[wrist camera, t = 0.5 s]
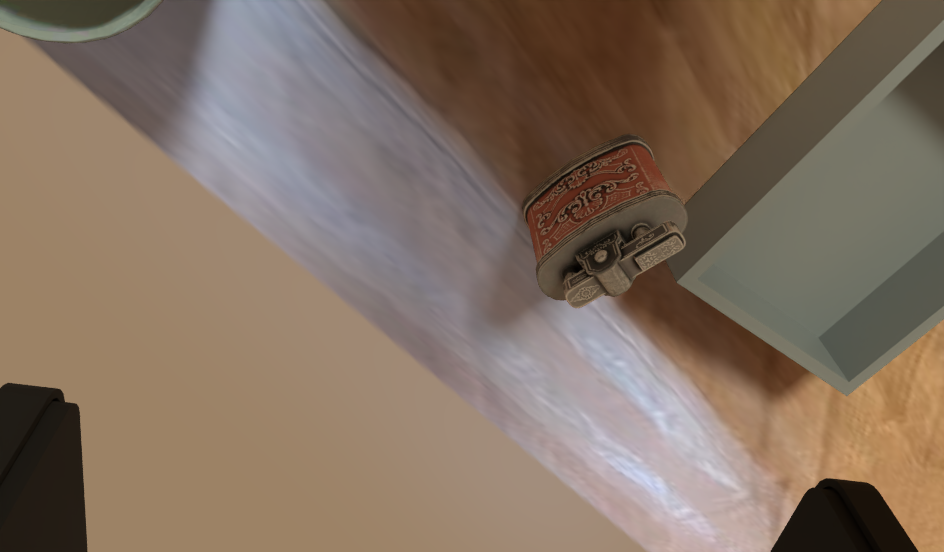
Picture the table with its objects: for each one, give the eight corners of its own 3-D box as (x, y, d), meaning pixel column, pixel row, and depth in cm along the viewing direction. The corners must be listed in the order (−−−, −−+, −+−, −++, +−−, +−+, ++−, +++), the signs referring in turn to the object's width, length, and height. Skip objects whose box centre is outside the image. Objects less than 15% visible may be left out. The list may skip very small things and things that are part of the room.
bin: (910, -29, 39) (968, -5, 35) (1067, 130, 44) (1133, 167, 40) (654, 236, 47) (676, 282, 43) (813, 345, 52) (846, 396, 48)
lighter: (541, 239, 47) (566, 343, 38) (510, 199, 45) (529, 297, 37) (661, 166, 44) (716, 259, 36) (633, 120, 43) (683, 206, 35)
